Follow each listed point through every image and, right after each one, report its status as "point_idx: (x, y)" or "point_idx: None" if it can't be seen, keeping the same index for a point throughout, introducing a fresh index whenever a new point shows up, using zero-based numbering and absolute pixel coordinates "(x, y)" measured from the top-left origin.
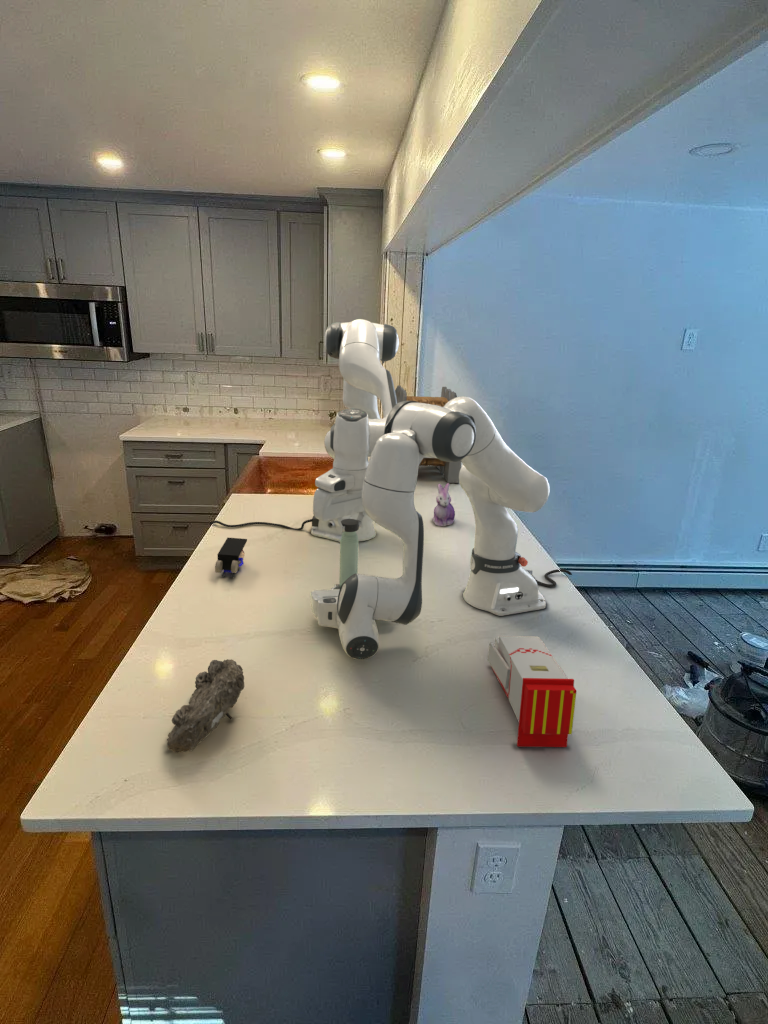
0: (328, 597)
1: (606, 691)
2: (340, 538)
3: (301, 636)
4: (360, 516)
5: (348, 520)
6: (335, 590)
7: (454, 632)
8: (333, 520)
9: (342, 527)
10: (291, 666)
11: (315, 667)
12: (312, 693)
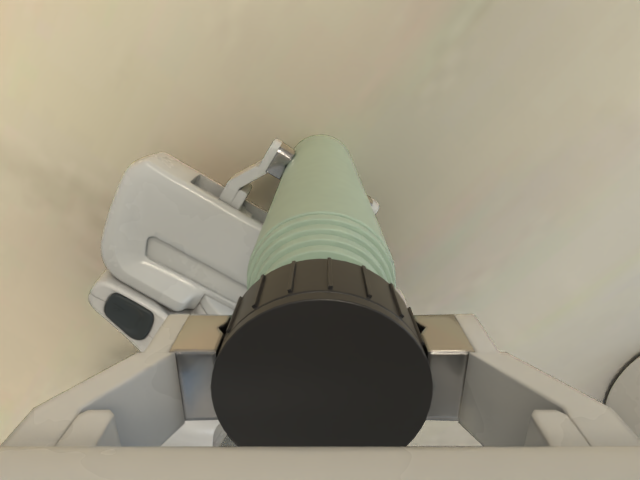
0: (172, 246)
1: None
2: (265, 240)
3: (88, 231)
4: (510, 421)
5: (337, 359)
6: (223, 225)
7: (450, 441)
8: (58, 398)
9: (184, 412)
10: (10, 326)
11: (64, 361)
12: (21, 421)
